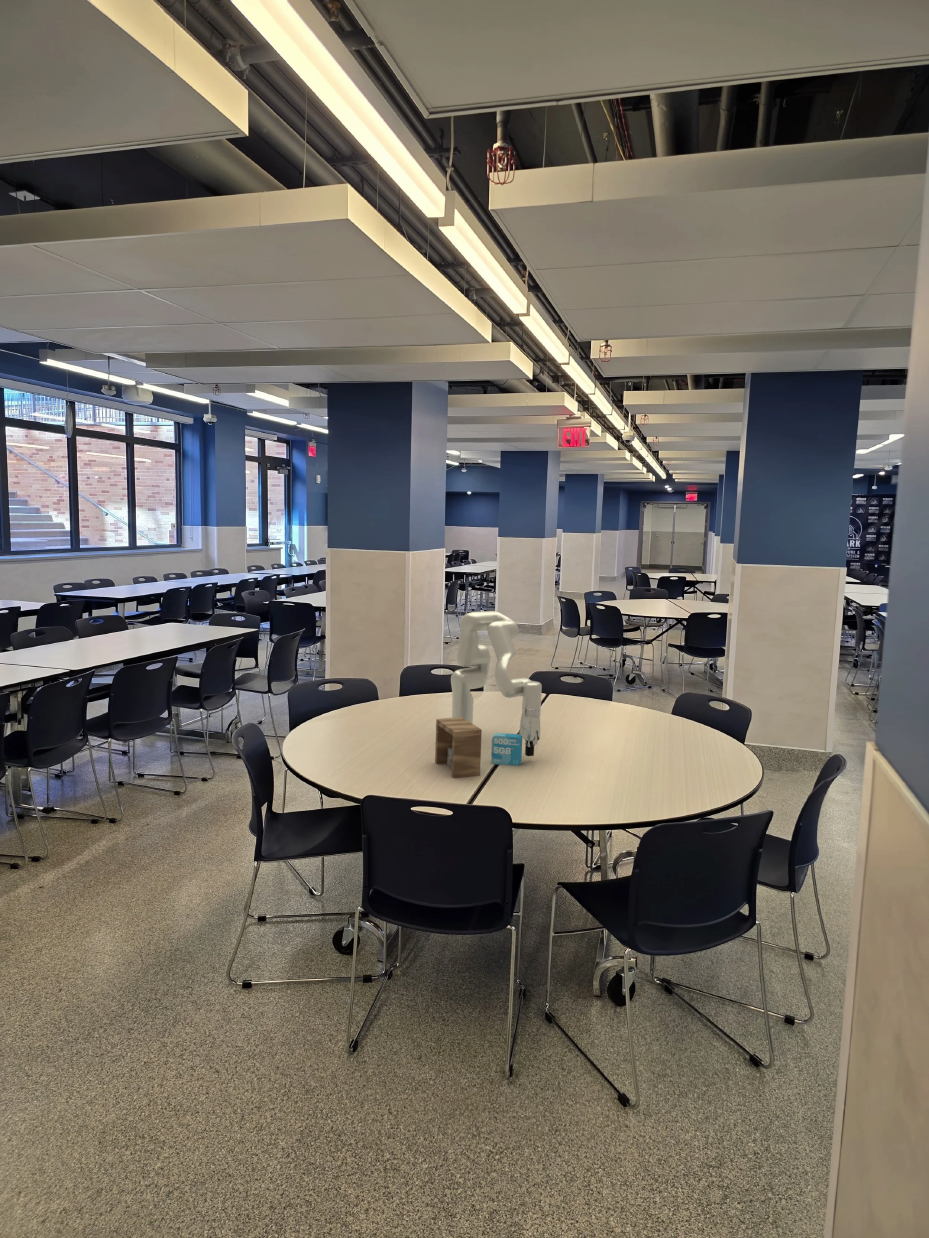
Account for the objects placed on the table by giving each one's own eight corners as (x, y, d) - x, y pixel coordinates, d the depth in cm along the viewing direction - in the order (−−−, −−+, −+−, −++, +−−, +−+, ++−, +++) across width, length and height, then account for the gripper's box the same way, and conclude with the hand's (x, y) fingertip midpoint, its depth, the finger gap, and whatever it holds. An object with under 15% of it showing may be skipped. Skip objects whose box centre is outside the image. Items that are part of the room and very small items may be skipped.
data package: (490, 764, 297) (492, 735, 296) (492, 760, 301) (493, 732, 300) (520, 766, 295) (521, 737, 294) (521, 762, 300) (522, 734, 299)
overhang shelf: (435, 762, 297) (436, 718, 295) (460, 760, 301) (461, 717, 299) (453, 778, 278) (454, 731, 276) (480, 775, 283) (481, 729, 281)
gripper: (514, 708, 305) (513, 751, 307) (531, 716, 291) (529, 761, 293) (530, 707, 308) (528, 749, 310) (548, 715, 294) (546, 760, 296)
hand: (529, 755), depth 302 cm, fingers closed
